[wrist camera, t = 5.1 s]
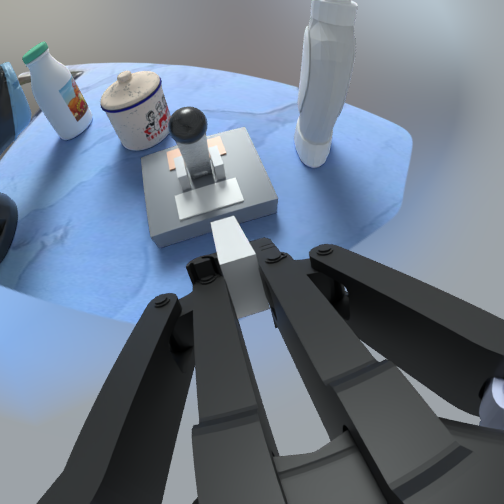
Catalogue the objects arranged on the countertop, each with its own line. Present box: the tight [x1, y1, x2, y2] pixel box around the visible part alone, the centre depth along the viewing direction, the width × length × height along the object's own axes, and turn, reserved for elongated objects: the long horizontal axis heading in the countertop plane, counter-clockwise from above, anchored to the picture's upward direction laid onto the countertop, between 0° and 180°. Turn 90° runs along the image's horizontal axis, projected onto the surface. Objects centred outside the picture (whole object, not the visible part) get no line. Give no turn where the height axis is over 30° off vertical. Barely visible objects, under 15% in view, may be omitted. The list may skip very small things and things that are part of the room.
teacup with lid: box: [101, 71, 171, 151], centre depth 34 cm, size 12×9×12 cm
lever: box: [168, 107, 212, 179], centre depth 24 cm, size 3×3×13 cm
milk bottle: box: [22, 42, 92, 140], centre depth 32 cm, size 8×8×20 cm
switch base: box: [141, 127, 278, 248], centre depth 31 cm, size 12×14×5 cm
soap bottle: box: [294, 0, 358, 168], centre depth 25 cm, size 13×8×24 cm, turn 173°
